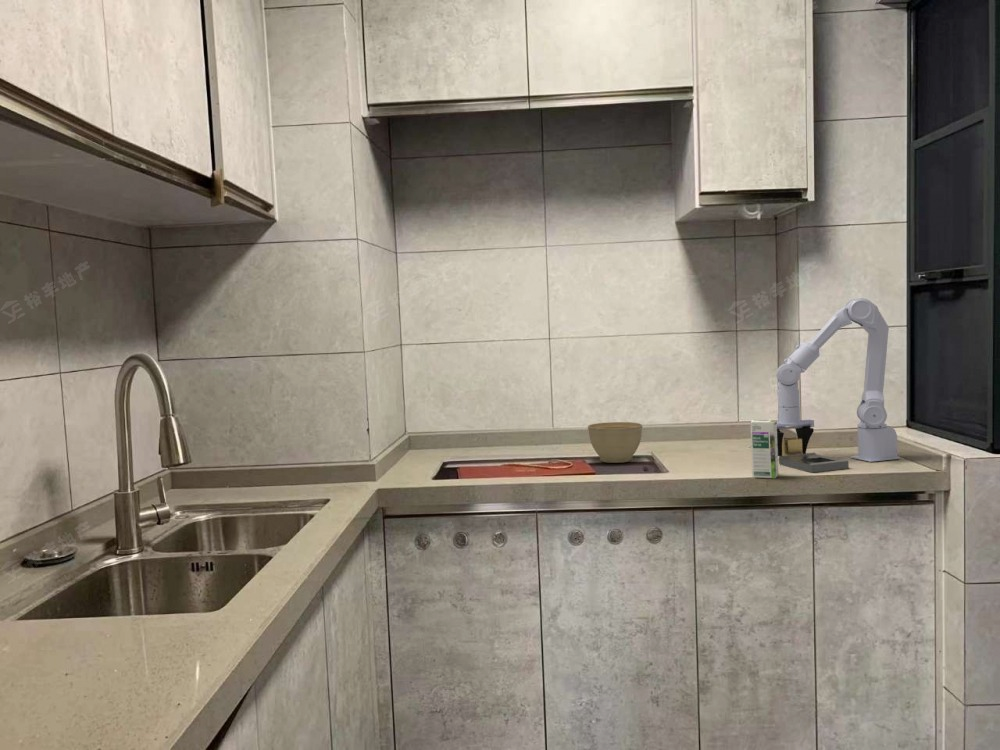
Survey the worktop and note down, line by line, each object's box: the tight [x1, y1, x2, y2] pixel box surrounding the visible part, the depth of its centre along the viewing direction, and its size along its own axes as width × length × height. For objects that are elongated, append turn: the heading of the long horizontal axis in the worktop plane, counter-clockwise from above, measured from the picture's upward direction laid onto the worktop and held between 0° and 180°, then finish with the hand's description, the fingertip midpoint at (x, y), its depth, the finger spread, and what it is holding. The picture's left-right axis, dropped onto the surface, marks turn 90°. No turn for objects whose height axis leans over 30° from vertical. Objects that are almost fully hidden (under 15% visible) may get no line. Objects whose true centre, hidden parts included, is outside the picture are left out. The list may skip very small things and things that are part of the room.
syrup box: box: [749, 418, 780, 479], centre depth 196 cm, size 6×6×14 cm
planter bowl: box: [587, 421, 643, 464], centre depth 231 cm, size 16×16×11 cm
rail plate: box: [778, 452, 850, 474], centre depth 205 cm, size 11×14×2 cm
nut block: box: [782, 435, 803, 456], centre depth 217 cm, size 4×4×6 cm
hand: (790, 454), depth 217 cm, fingers open, 7 cm apart
